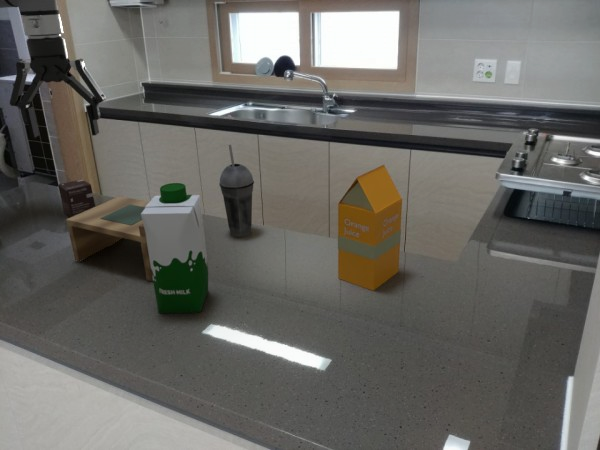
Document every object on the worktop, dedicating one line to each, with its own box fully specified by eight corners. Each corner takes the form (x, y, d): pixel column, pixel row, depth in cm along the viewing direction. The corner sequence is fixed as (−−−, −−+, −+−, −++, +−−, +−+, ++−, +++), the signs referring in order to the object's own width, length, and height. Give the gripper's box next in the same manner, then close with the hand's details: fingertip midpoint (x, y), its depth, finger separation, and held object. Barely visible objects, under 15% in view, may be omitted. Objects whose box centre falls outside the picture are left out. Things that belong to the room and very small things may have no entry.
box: (71, 219, 127) (65, 190, 124) (63, 212, 132) (57, 184, 129) (97, 212, 131) (91, 184, 128) (88, 206, 135) (82, 178, 132)
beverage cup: (263, 229, 118) (258, 141, 110) (244, 242, 113) (237, 150, 105) (237, 224, 122) (230, 137, 114) (217, 236, 116) (208, 146, 108)
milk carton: (214, 288, 95) (202, 181, 88) (204, 316, 87) (190, 201, 79) (165, 288, 96) (149, 182, 88) (151, 316, 88) (132, 202, 80)
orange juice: (399, 271, 99) (404, 167, 91) (373, 291, 93) (376, 181, 85) (363, 260, 104) (365, 160, 96) (337, 278, 98) (336, 173, 90)
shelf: (75, 260, 107) (63, 209, 103) (126, 234, 118) (117, 187, 114) (151, 281, 98) (142, 226, 94) (198, 250, 110) (192, 200, 105)
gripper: (-24, 40, 110) (2, 141, 118) (98, 35, 110) (116, 137, 119) (-7, 37, 117) (17, 133, 125) (109, 33, 117) (125, 129, 126)
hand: (65, 135), depth 122 cm, fingers open, 13 cm apart
